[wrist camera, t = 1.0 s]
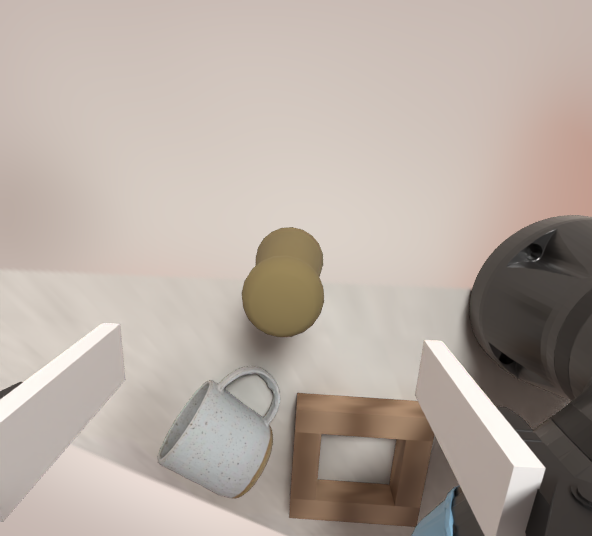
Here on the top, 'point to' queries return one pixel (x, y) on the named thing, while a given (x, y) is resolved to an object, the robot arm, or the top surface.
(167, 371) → the top surface
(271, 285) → the olive rounded upright piece
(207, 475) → the ceramic mug
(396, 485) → the socket block
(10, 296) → the top surface
